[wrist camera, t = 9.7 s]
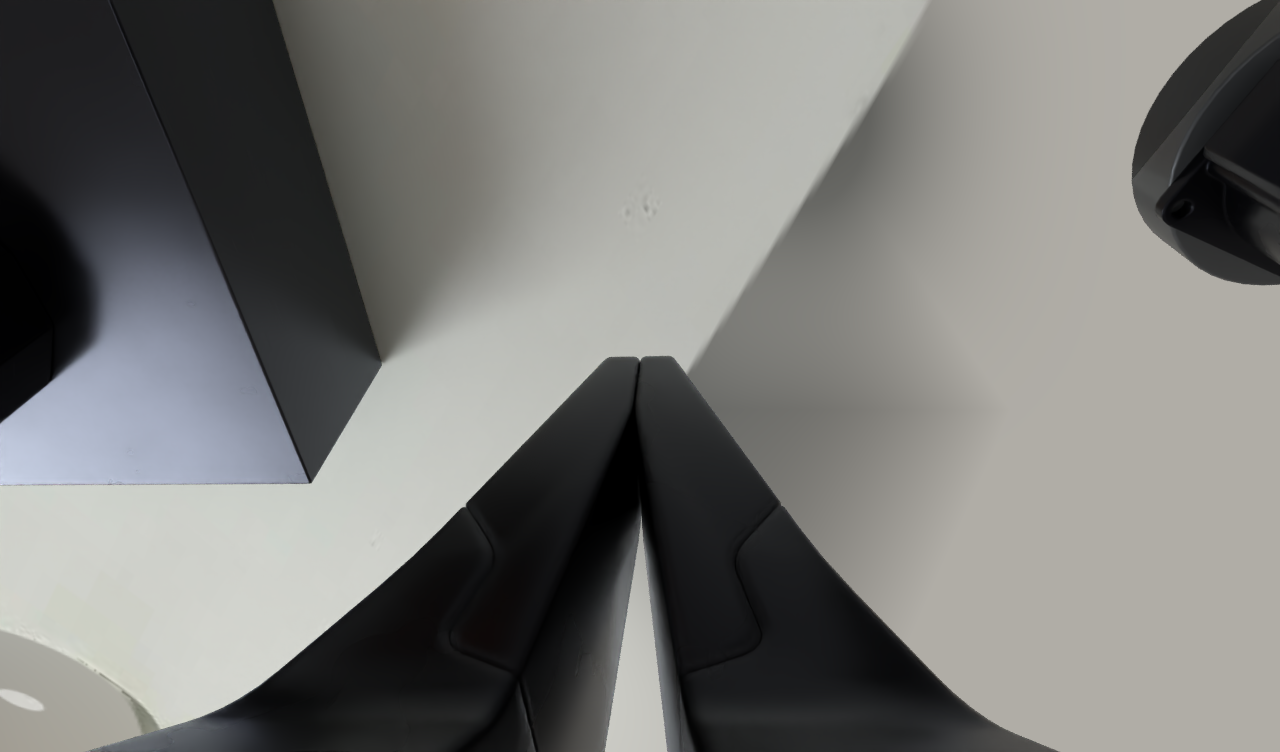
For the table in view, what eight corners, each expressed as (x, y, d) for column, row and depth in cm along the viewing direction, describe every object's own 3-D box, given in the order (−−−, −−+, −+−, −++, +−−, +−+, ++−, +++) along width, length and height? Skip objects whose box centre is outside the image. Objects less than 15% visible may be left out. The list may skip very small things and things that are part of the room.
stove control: (256, -53, 17) (24, -10, 11) (382, 365, 24) (281, 534, 18) (-189, -30, 18) (-639, 23, 12) (56, 370, 25) (-149, 535, 19)
